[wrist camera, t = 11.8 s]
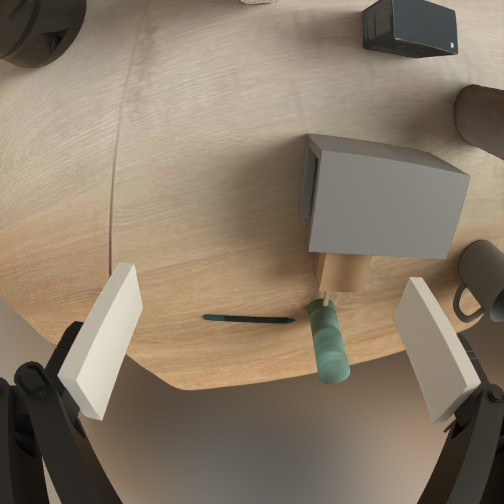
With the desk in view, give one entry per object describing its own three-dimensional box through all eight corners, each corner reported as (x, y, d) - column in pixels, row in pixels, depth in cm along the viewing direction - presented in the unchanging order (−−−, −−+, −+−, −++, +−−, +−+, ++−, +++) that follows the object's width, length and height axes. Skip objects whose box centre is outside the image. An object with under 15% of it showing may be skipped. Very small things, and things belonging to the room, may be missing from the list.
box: (415, 21, 27) (456, 10, 18) (416, 59, 30) (459, 56, 21) (360, 10, 28) (391, -10, 19) (362, 48, 30) (394, 39, 21)
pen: (294, 320, 53) (295, 325, 52) (204, 317, 53) (203, 321, 52) (295, 316, 52) (296, 320, 51) (204, 312, 53) (203, 317, 52)
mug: (487, 228, 42) (526, 265, 32) (497, 261, 45) (530, 299, 35) (431, 273, 47) (461, 319, 37) (446, 302, 50) (472, 346, 40)
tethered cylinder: (301, 318, 52) (310, 384, 40) (317, 226, 43) (338, 286, 31) (335, 318, 52) (350, 383, 40) (357, 229, 43) (389, 287, 31)
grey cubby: (298, 212, 42) (308, 251, 33) (306, 133, 37) (322, 150, 28) (413, 222, 42) (445, 259, 33) (429, 152, 37) (470, 176, 27)
